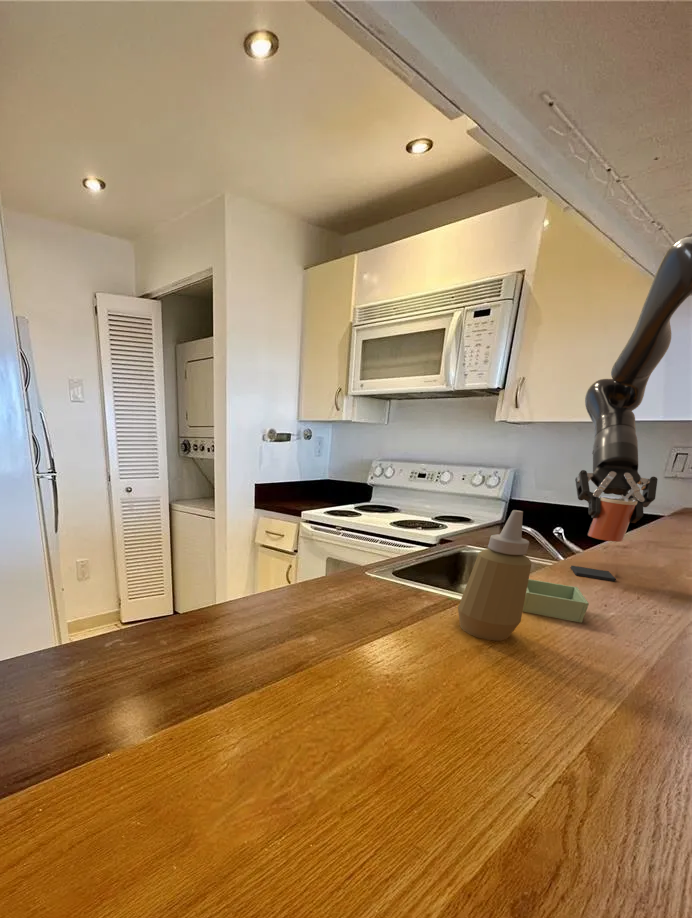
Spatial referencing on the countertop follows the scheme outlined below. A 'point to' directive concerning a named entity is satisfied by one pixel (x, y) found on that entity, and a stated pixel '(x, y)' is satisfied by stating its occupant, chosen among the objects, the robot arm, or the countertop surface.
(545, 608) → the green shallow open box
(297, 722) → the countertop surface
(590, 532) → the tumbler
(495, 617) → the squeeze bottle
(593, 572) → the drying mat
